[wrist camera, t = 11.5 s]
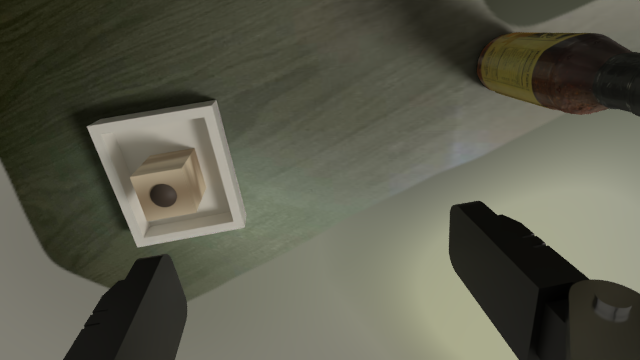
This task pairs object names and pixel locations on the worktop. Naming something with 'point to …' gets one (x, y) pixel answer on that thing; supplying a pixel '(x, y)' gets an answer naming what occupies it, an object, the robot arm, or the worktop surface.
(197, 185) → the block
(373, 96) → the worktop surface
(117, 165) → the tray
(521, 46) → the sauce bottle
